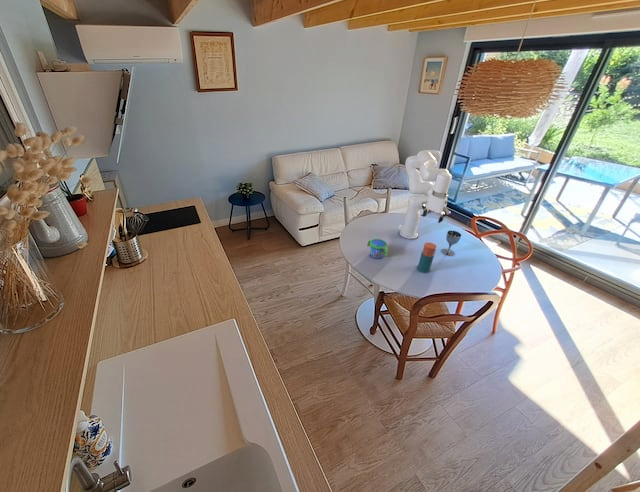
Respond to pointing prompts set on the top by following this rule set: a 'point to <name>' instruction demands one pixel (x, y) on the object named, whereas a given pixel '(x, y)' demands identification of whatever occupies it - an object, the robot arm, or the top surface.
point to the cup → (429, 249)
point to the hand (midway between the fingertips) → (432, 219)
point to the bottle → (425, 263)
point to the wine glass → (451, 241)
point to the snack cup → (377, 248)
